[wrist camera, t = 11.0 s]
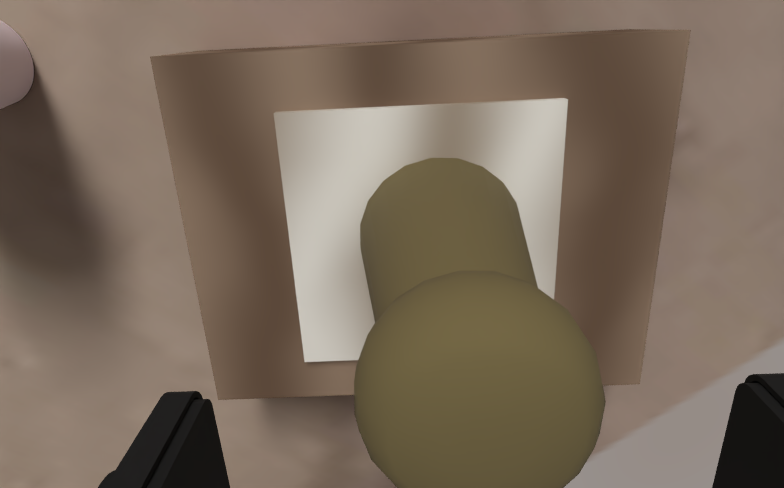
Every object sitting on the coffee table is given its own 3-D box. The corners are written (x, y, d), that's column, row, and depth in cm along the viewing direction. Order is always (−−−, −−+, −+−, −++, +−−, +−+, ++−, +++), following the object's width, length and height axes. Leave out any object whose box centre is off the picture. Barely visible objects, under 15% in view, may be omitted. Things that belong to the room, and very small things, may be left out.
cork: (526, 298, 21) (650, 550, 11) (373, 318, 22) (354, 580, 11) (517, 145, 19) (660, 282, 9) (346, 169, 19) (292, 329, 9)
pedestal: (629, 29, 23) (697, 30, 18) (598, 324, 28) (643, 389, 23) (199, 51, 23) (145, 57, 18) (247, 338, 28) (215, 405, 23)
